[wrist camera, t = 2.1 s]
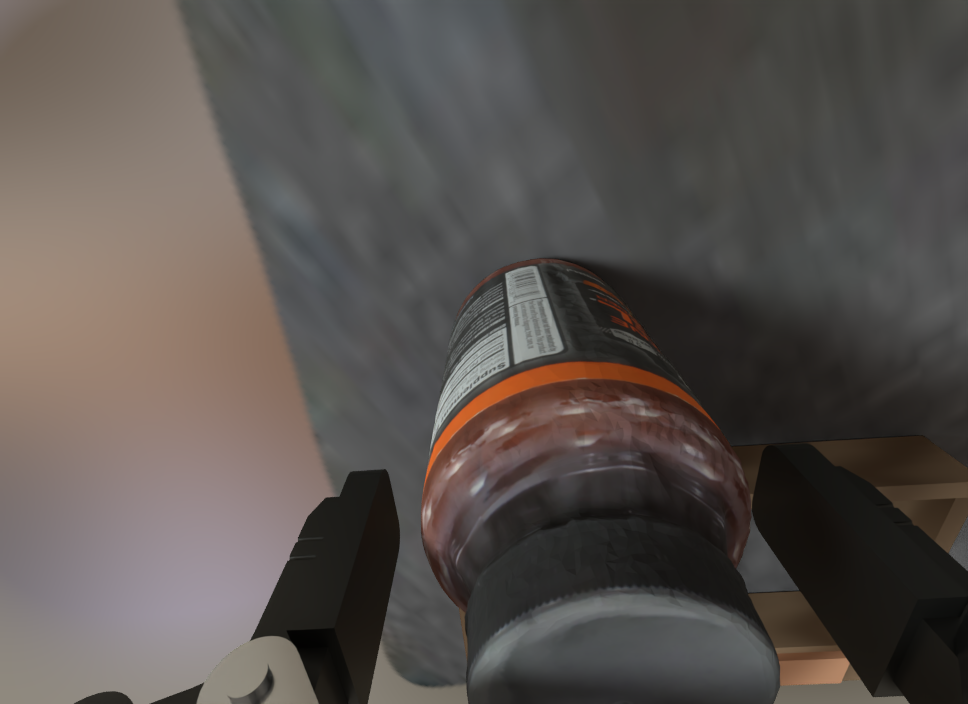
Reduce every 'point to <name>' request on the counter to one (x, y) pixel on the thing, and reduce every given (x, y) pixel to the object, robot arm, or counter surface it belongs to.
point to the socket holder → (910, 487)
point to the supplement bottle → (586, 507)
